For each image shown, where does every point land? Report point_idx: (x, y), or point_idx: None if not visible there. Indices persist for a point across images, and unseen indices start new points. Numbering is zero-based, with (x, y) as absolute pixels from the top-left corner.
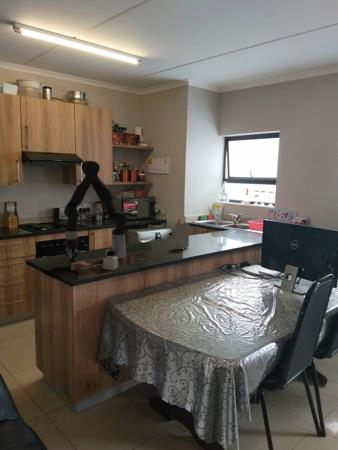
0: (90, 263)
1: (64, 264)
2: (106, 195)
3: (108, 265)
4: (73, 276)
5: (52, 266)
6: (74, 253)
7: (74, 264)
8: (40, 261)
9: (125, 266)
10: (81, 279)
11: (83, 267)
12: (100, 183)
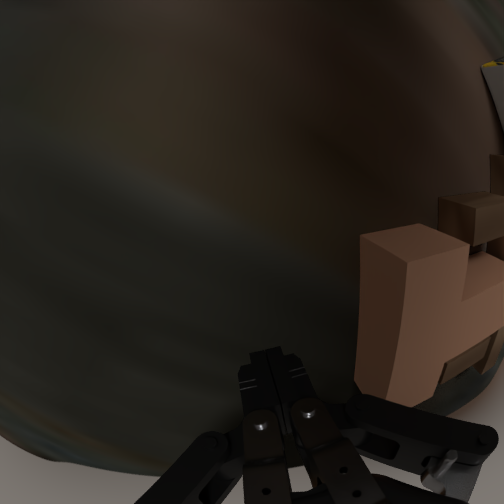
0: (485, 228)
1: (143, 372)
2: None
3: None
4: (459, 386)
5: (167, 447)
6: (419, 470)
7: (426, 396)
8: (8, 420)
9: (501, 14)
10: (499, 360)
11: (489, 336)
12: None
